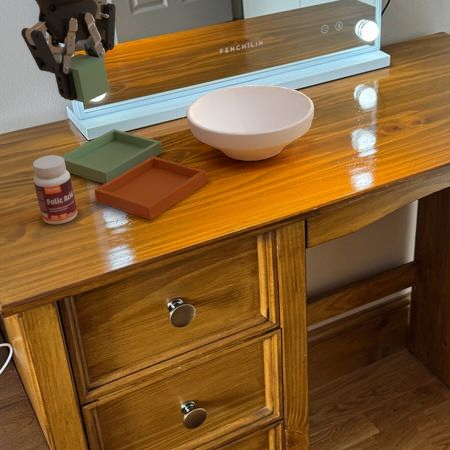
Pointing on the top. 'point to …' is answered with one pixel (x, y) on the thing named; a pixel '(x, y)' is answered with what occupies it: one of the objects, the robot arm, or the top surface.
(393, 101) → the top surface
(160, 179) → the reddish-brown tray
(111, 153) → the sage tray
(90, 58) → the sage block
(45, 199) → the pill bottle
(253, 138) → the bowl
